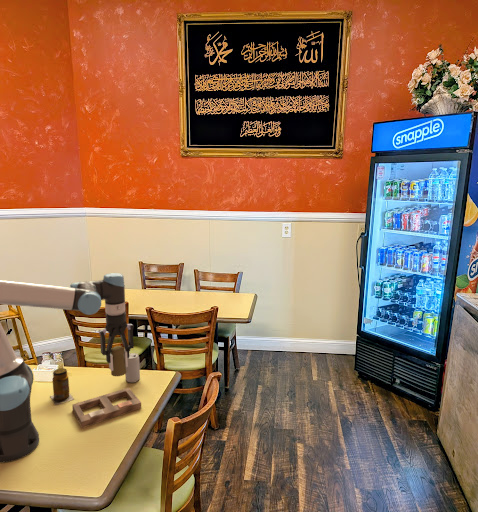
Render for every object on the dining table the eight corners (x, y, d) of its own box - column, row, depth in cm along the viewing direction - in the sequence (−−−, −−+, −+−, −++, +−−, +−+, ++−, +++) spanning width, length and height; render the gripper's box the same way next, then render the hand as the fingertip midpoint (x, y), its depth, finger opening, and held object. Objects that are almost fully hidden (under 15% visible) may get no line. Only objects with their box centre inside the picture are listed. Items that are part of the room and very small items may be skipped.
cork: (122, 377, 153) (120, 351, 151) (108, 375, 154) (106, 349, 152) (129, 370, 159) (128, 344, 157) (115, 368, 160) (114, 343, 158)
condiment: (68, 391, 168) (66, 365, 166) (74, 399, 162) (72, 372, 159) (50, 396, 163) (47, 370, 161) (55, 405, 157) (53, 378, 155)
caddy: (81, 428, 143) (81, 420, 142) (72, 410, 154) (72, 403, 153) (141, 407, 156) (141, 401, 155) (128, 392, 167) (128, 386, 167)
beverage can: (137, 383, 175) (136, 358, 173) (123, 383, 175) (122, 358, 173) (141, 376, 181) (140, 352, 179) (128, 376, 181) (127, 352, 179)
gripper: (94, 319, 144) (98, 377, 148) (141, 310, 154) (143, 365, 158) (89, 314, 150) (92, 370, 154) (134, 306, 160) (136, 358, 164)
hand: (118, 367), depth 156 cm, fingers closed on cork, 5 cm apart
